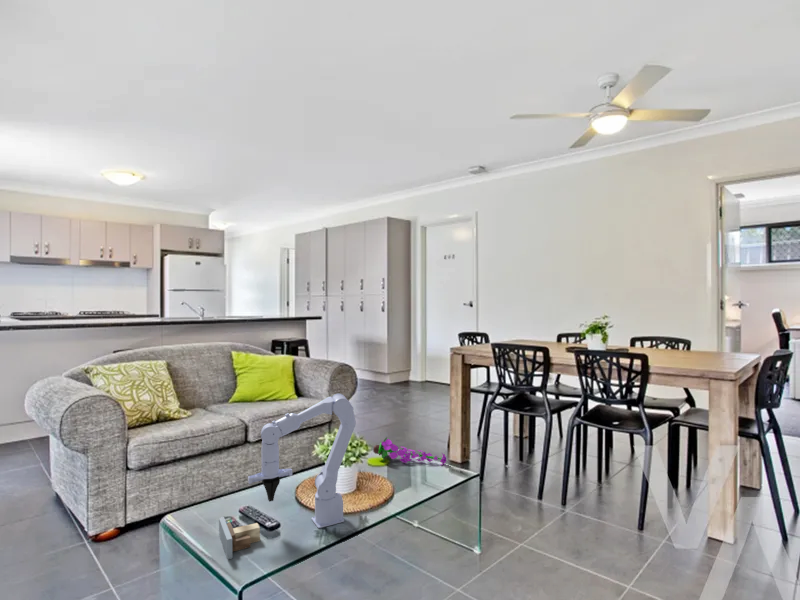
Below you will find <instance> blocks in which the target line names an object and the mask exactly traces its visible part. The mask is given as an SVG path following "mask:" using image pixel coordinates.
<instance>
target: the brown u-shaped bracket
mask: <svg viewBox="0 0 800 600" xmlns="http://www.w3.org/2000/svg"><path fill="white" fill-rule="evenodd" d="M226 524H227V526H228V529H229V531H230V534H231V537H232V553H233V552H237V551H241V550H245V549H247V548H251V543H250V536H249V535H246V536H242V537H238V538H235V533H234V530H233V528H234V527H233V525H232V524H231V522H228V523H227V522H226ZM242 526H246V525H239V527H242ZM237 527H238V526H237ZM237 527H235V528H237Z"/></svg>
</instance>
